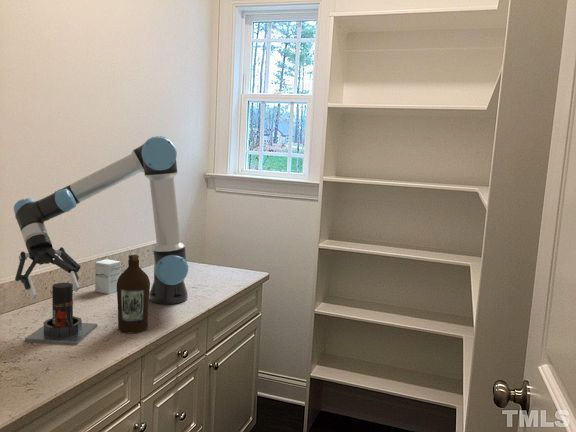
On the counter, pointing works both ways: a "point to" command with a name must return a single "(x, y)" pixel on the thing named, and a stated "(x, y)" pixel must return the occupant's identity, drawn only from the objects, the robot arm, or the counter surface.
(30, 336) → the duct flange
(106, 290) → the supplement box
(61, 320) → the deodorant
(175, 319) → the counter surface
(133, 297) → the olive oil
